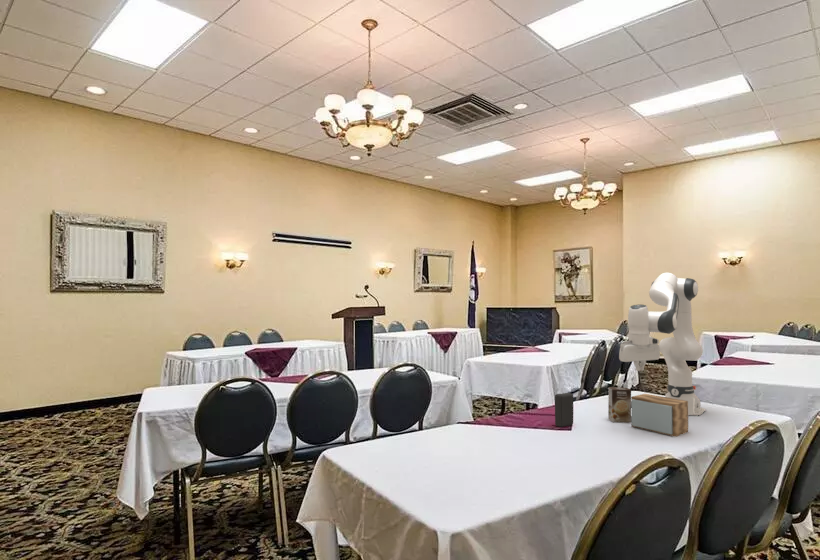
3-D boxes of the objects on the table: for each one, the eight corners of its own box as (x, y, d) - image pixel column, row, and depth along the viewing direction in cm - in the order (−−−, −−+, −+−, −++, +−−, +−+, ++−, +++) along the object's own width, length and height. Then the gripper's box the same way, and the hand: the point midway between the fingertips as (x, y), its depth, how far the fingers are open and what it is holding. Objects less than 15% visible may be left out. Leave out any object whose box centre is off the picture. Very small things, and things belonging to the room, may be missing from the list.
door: (631, 424, 231) (631, 398, 231) (672, 433, 216) (672, 406, 216) (630, 425, 230) (629, 399, 230) (671, 434, 215) (670, 406, 215)
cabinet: (645, 422, 238) (644, 393, 238) (688, 432, 222) (687, 401, 222) (631, 426, 231) (631, 396, 231) (675, 436, 215) (674, 404, 215)
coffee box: (612, 422, 238) (611, 389, 239) (608, 419, 245) (607, 386, 245) (631, 423, 237) (631, 389, 238) (627, 419, 244) (626, 387, 244)
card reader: (567, 423, 237) (567, 392, 237) (574, 425, 233) (574, 393, 234) (554, 425, 232) (553, 393, 233) (560, 427, 229) (560, 395, 229)
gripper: (625, 341, 218) (626, 373, 218) (662, 339, 224) (662, 370, 224) (615, 340, 224) (616, 371, 224) (651, 338, 230) (652, 368, 230)
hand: (639, 370), depth 224 cm, fingers closed
